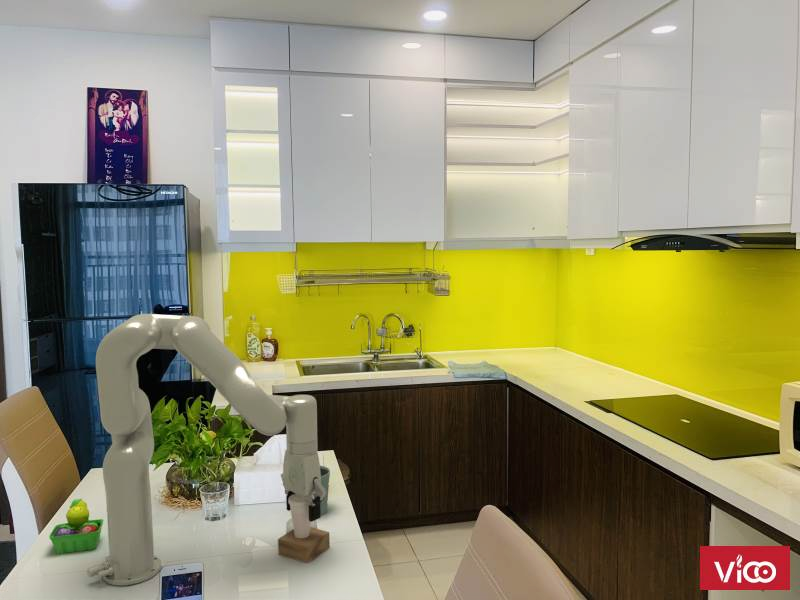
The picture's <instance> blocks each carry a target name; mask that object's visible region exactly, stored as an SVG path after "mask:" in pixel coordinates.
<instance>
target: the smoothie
mask: <svg viewBox="0 0 800 600" xmlns="http://www.w3.org/2000/svg"><path fill="white" fill-rule="evenodd" d="M312 497H313V500H314V496H313V495H312ZM288 503H289V504H290V509H291V510H290V515H291V519H292V522H293V528H294V535H295V537H296V538H306V537H308V536H309V535H310V525H311V522H310V521H309V505H310V502H309V500H308V497H307V496H306V497H303V496H301V495H298V494H293V495H291V496H290V497H289V498H288Z"/></svg>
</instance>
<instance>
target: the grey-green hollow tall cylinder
mask: <svg viewBox="0 0 800 600" xmlns="http://www.w3.org/2000/svg"><path fill="white" fill-rule="evenodd" d="M320 472H321V484H322V486H323V487H324V488H325V490H326V494H325V497H324V499H323V501H322V503H320V509H321V517H322V516H323V515H325V514H326V513H327V511H328V502H329V501H328V500H329V487H330V484H329V483H330V478H331V477H330V475H331V469H330V468H329V467H327V466H324V465H320ZM311 492H313V491H311ZM313 496H314V499H315V498H316V497H315V494H314V495H313Z"/></svg>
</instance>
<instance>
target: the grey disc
mask: <svg viewBox="0 0 800 600" xmlns="http://www.w3.org/2000/svg"><path fill="white" fill-rule="evenodd" d="M285 526H286V527H285V528H286V530H285V532H286V533H285V534H287V533H288V532H290V531H291V530H293V529H294V528H293V522H292V518H290V519H288V520H287V521H286V523H285ZM310 527H312V528H315V529H318V528H317V527H318V522H317V520H315V521H312V522H311V525H310Z"/></svg>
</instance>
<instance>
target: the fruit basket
mask: <svg viewBox="0 0 800 600" xmlns="http://www.w3.org/2000/svg"><path fill="white" fill-rule="evenodd" d="M65 517H66V520H67V523H66V522H65V523H60V524H57V525H55V526H54V528H53V529H52V531H51V532H50V534H49V536H48V537H49V539H50V541H51V543H52V545H53V548H54V550H55V553H56V555H59V554H64V553H75V552H81V551H87V550H88V551H89V550H96V549H97V546H98V543H99V542H100V538H101V533H102V527H103V524H104V519H102V518H100V519H89V518H90V511H89V509H88V504H87V502H86V501H84V500H83V498H78V499H76V498H75V499H74V500H72V502H71V504H70V505H69V509H68V510H67V511H66V514H65Z"/></svg>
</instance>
